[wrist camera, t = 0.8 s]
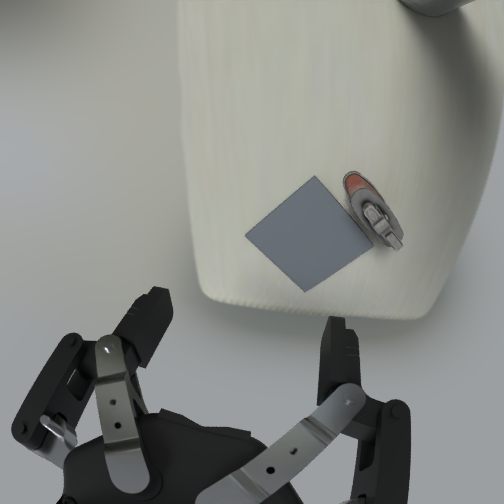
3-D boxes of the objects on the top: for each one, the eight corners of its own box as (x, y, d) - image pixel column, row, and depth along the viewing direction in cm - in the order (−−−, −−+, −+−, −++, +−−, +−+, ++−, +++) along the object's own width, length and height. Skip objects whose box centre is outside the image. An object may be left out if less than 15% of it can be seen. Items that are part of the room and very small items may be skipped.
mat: (314, 175, 34) (314, 176, 33) (372, 243, 37) (373, 246, 36) (245, 234, 40) (244, 236, 39) (304, 289, 43) (304, 292, 43)
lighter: (336, 182, 33) (346, 212, 25) (356, 165, 32) (373, 190, 23) (374, 224, 35) (392, 264, 27) (392, 209, 34) (416, 246, 25)
